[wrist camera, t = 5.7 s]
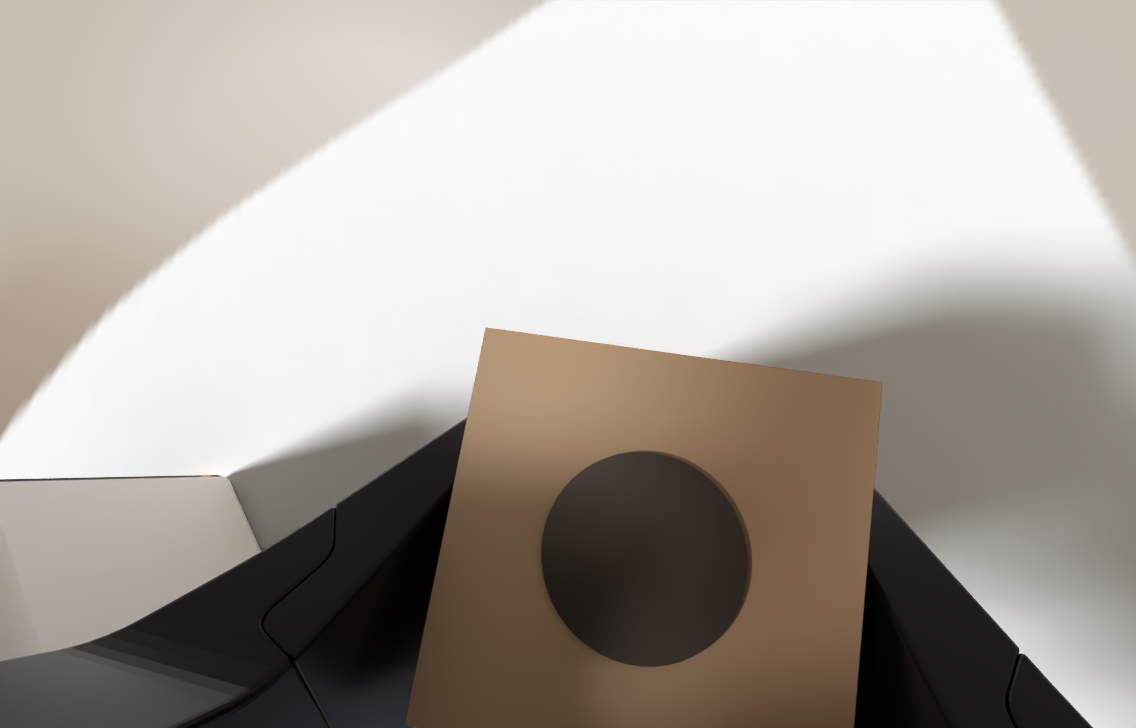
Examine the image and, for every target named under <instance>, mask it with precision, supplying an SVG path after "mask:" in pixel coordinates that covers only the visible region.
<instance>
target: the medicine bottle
mask: <svg viewBox="0 0 1136 728" xmlns="http://www.w3.org/2000/svg"><path fill="white" fill-rule="evenodd" d="M259 552H261V550H260V548H259V545H258V543H257V541H256V539H255V537H254V534H253V532H252V530H251V528H250V525H249V523H248V521H247V519H246V516H245V514H244V512H243V510H242V507H241V505H240V503H239V501H238V498H237V496H236V494H235V492H234V490H233V487H232V485H231V483H230V481H229V480H228V479H227V478H226V477H223V476H220V475H199V476H150V477H102V478H53V479H5V480H0V661H2V660H7V659H13V658H18V657H23V656H28V655H34V654H39V653H44V652H49V651H55V650H59V649H64V648H68V647H72V646H75V645H79V644H83V643H86V642H89V641H92V640H95V639H97V638H100V637H103V636H105V635H108V634H110V633H112V632H115V631H117V630H119V629H121V628H124V627H126V626H128V625H130V624H132V623H134V622H136V621H137V620H139V619H141V618H143V617H145V616H147V615H149V614H150V613H152V612H154V611H156V610H158V609H159V608H161V607H163V606H165V605H167V604H168V603H170V602H172V601H174V600H176V599H177V598H179V597H181V596H183V595H185V594H186V593H188V592H190V591H192V590H194V589H195V588H197V587H199V586H201V585H203V584H204V583H206V582H208V581H210V580H212V579H213V578H215V577H217V576H219V575H220V574H222V573H224V572H226V571H228V570H229V569H231V568H233V567H235V566H237V565H238V564H240V563H242V562H244V561H245V560H247V559H249V558H250V557H252V556H254V555H256V554H257V553H259Z"/></svg>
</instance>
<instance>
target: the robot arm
mask: <svg viewBox="0 0 1136 728" xmlns="http://www.w3.org/2000/svg"><path fill="white" fill-rule="evenodd" d="M466 422H467V418H465V419H464V420H462V421H461V422H459V423H458V424H456V425H455V426H453V427H452V428H450V429H449V430H447V431H446V432H444V433H443V434H441V435H440V436H438V437H437V438H435V439H434V440H432V441H431V442H429V443H428V444H426V445H425V446H423V447H421V448H420V449H418V450H417V451H415V452H414V453H412V454H411V455H409V456H408V457H406V458H405V459H403V460H402V461H400V462H399V463H397V464H396V465H394V466H393V467H391V468H390V469H388V470H387V471H385V472H384V473H382V474H381V475H379V476H378V477H376V478H375V479H373V480H372V481H370V482H369V483H367V484H366V485H364V486H363V487H361V488H360V489H358V490H357V491H355V492H354V493H352V494H351V495H349V496H348V497H346V498H345V499H343V500H342V501H340V502H339V503H337V504H336V509H335V508H334V507H331V508H329V509H328V510H326V511H325V512H323V513H322V514H320V515H319V516H317V517H316V518H314V519H313V520H311V521H310V522H308V523H306V524H305V525H303V526H302V527H300V528H298V529H297V530H295V531H294V532H292V533H291V534H289V535H287V536H286V537H284V538H283V539H281V540H280V541H278V542H276V543H275V544H273V545H271V546H269V547H268V548H266V549H264V550H263V551H261V552H259V553H257V554H256V555H254V556H252V557H250V558H249V559H247V560H245V561H244V562H242V563H240V564H238V565H237V566H235V567H233V568H231V569H229V570H228V571H226V572H224V573H222V574H220V575H219V576H217V577H215V578H213V579H212V580H210V581H208V582H206V583H204V584H203V585H201V586H199V587H197V588H195V589H194V590H192V591H190V592H188V593H186V594H185V595H183V596H181V597H179V598H177V599H176V600H174V601H172V602H170V603H168V604H167V605H165V606H163V607H161V608H159V609H158V610H156V611H154V612H152V613H150V614H149V615H147V616H145V617H143V618H141V619H139V620H137V621H136V622H134V623H132V624H130V625H128V626H126V627H124V628H121V629H119V630H117V631H115V632H112V633H110V634H108V635H105V636H103V637H100V638H97V639H95V640H92V641H89V642H86V643H83V644H79V645H75V646H72V647H68V648H64V649H59V650H55V651H49V652H44V653H39V654H34V655H28V656H23V657H18V658H13V659H7V660H2V661H0V728H414V727H413V726H409V725H406V724H405V721H406V716H407V711H408V706H409V701H410V696H411V692H412V687H413V682H414V677H415V672H416V667H417V662H418V657H419V652H420V647H421V642H422V638H423V633H424V628H425V623H426V618H427V613H428V608H429V603H430V598H431V593H432V589H433V584H434V579H435V574H436V569H437V564H438V559H439V554H440V549H441V544H442V539H443V535H444V530H445V525H446V520H447V515H448V510H449V505H450V500H451V495H452V490H453V485H454V481H455V476H456V471H457V466H458V461H459V456H460V451H461V446H462V441H463V436H464V432H465V427H466ZM854 728H1093V727H1092V726H1091V725H1090V724H1089V723H1088V722H1087V721H1086V720H1085V719H1084V718H1083V717H1082V716H1081V715H1080V714H1079V712H1078V711H1077V710H1076V709H1075V708H1074V707H1073V706H1072V705H1071V704H1070V703H1069V702H1068V701H1067V700H1066V699H1065V698H1064V696H1063V695H1062V694H1061V693H1060V692H1059V691H1058V690H1057V689H1056V688H1055V687H1054V686H1053V685H1052V684H1051V683H1050V681H1049V680H1048V679H1047V678H1046V677H1045V676H1044V675H1043V674H1042V673H1041V671H1040V670H1039V669H1038V668H1037V667H1036V666H1035V665H1034V664H1033V663H1032V661H1031V660H1030V659H1029V658H1028V657H1027V656H1026V655H1025V654H1019V648H1018V646H1017V645H1016V644H1015V643H1014V642H1013V641H1012V640H1011V639H1010V637H1009V636H1008V635H1007V634H1006V633H1005V632H1004V631H1003V630H1002V629H1001V628H1000V626H999V625H998V624H997V623H996V622H995V621H994V620H993V619H992V618H991V616H990V615H989V614H988V613H987V612H986V611H985V610H984V609H983V608H982V606H981V605H980V604H979V603H978V602H977V601H976V600H975V599H974V598H973V597H972V595H971V594H970V593H969V592H968V591H967V590H966V589H965V588H964V587H963V585H962V584H961V583H960V582H959V581H958V580H957V579H956V578H955V577H954V575H953V574H952V573H951V572H950V571H949V570H948V569H947V568H946V567H945V566H944V564H943V563H942V562H941V561H940V560H939V559H938V558H937V557H936V556H935V554H934V553H933V552H932V551H931V550H930V549H929V548H928V547H927V546H926V544H925V543H924V542H923V541H922V540H921V539H920V538H919V537H918V536H917V535H916V533H915V532H914V531H913V530H912V529H911V528H910V527H909V526H908V525H907V523H906V522H905V521H904V520H903V519H902V518H901V517H900V516H899V515H898V513H897V512H896V511H895V510H894V509H893V508H892V507H891V506H890V505H889V504H888V502H887V501H886V500H885V499H884V498H883V497H882V496H881V495H880V494H879V492H878V491H877V490H876V489H875V488H874V490H873V502H872V514H871V526H870V538H869V550H868V562H867V574H866V586H865V598H864V611H863V623H862V635H861V647H860V659H859V671H858V683H857V695H856V707H855V719H854Z"/></svg>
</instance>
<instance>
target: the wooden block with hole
mask: <svg viewBox="0 0 1136 728" xmlns="http://www.w3.org/2000/svg"><path fill="white" fill-rule="evenodd" d="M881 393H882V382H875V381H867V380H860V379H853V378H846V377H839V376H831V375H824V374H817V373H810V372H802V371H795V370H788V369H781V368H774V367H766V366H759V365H752V364H745V363H738V362H730V361H723V360H716V359H709V358H702V357H694V356H687V355H680V354H673V353H666V352H658V351H651V350H644V349H637V348H629V347H622V346H615V345H608V344H601V343H593V342H586V341H579V340H572V339H565V338H557V337H550V336H543V335H536V334H529V333H521V332H514V331H507V330H500V329H492V328H486V329H485V333H484V338H483V343H482V348H481V353H480V358H479V363H478V368H477V373H476V378H475V382H474V387H473V392H472V397H471V402H470V407H469V412H468V417H467V422H466V427H465V432H464V436H463V441H462V446H461V451H460V456H459V461H458V466H457V471H456V476H455V481H454V485H453V490H452V495H451V500H450V505H449V510H448V515H447V520H446V525H445V530H444V535H443V539H442V544H441V549H440V554H439V559H438V564H437V569H436V574H435V579H434V584H433V589H432V593H431V598H430V603H429V608H428V613H427V618H426V623H425V628H424V633H423V638H422V642H421V647H420V652H419V657H418V662H417V667H416V672H415V677H414V682H413V687H412V692H411V696H410V701H409V706H408V711H407V716H406V721H405V724H406V725H409V726H413V727H417V728H854V719H855V707H856V695H857V683H858V671H859V659H860V647H861V635H862V623H863V611H864V598H865V586H866V574H867V562H868V550H869V538H870V526H871V514H872V502H873V490H874V478H875V466H876V454H877V442H878V429H879V417H880V405H881Z"/></svg>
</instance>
